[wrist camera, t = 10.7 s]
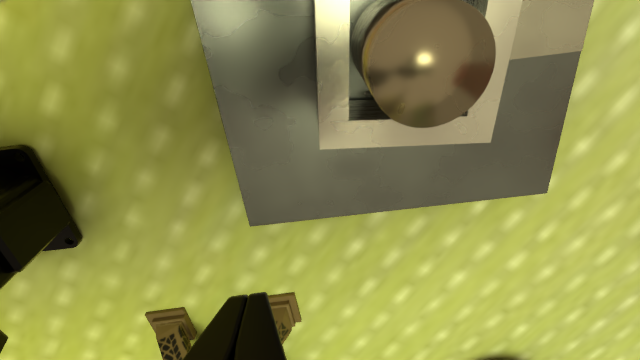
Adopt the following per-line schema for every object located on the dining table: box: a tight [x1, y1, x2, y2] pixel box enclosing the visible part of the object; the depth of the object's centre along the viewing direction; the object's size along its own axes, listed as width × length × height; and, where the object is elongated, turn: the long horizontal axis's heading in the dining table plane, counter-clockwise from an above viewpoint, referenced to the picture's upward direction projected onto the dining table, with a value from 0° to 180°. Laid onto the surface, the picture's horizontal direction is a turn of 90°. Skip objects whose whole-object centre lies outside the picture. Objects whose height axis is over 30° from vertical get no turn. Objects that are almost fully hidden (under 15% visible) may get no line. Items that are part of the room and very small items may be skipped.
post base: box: [191, 0, 594, 226], centre depth 14 cm, size 17×18×6 cm
